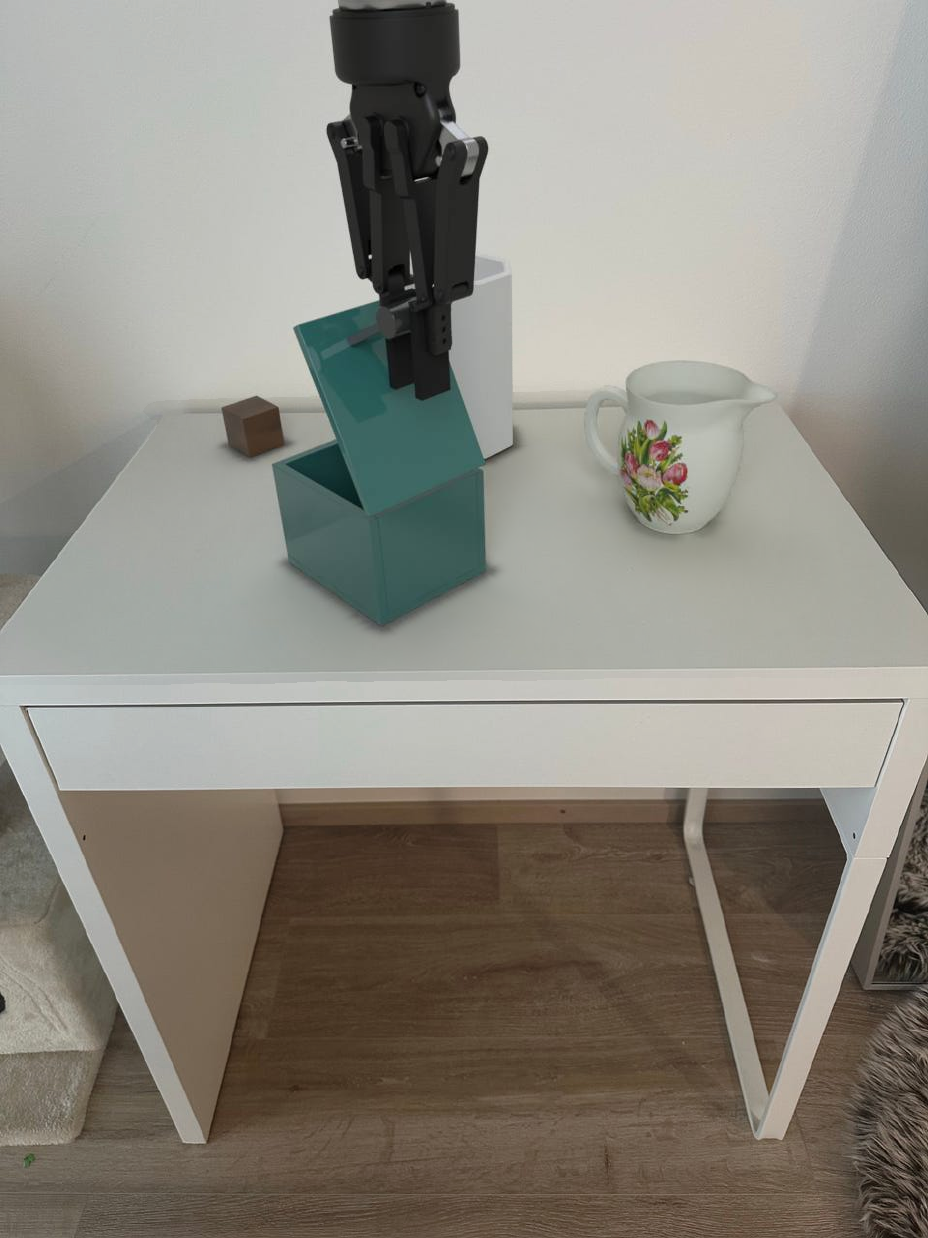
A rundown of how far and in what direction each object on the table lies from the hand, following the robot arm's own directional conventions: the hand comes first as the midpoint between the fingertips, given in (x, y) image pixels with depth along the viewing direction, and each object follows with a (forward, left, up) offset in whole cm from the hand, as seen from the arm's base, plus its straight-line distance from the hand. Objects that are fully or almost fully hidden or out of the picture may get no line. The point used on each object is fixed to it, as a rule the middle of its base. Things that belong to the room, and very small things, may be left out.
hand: (420, 387), depth 68 cm
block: (-33, +15, -18) cm, 41 cm away
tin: (-6, +2, -18) cm, 20 cm away
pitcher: (+12, +22, -19) cm, 31 cm away
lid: (-3, +1, -2) cm, 4 cm away
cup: (-13, +27, -19) cm, 35 cm away
